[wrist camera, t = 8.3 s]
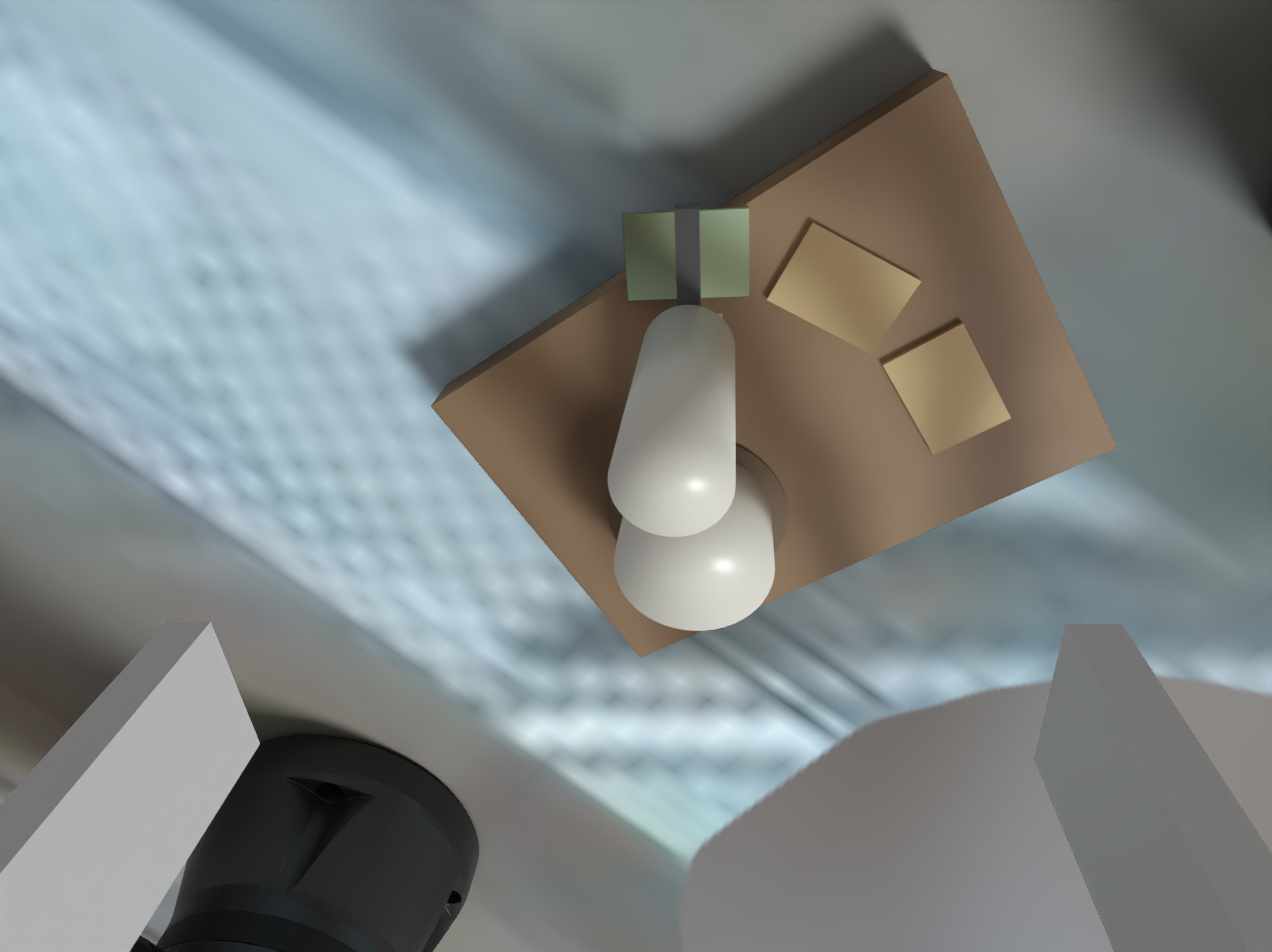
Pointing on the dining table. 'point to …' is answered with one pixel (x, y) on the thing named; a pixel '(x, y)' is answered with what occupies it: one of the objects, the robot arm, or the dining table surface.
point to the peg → (688, 469)
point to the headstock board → (810, 358)
